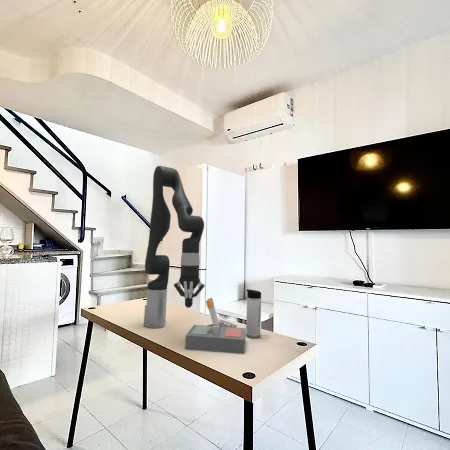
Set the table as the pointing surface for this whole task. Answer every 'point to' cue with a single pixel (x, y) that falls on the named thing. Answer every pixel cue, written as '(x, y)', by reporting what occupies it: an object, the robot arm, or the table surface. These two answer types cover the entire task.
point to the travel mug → (253, 314)
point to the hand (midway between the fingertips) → (188, 307)
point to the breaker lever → (212, 312)
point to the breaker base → (216, 338)
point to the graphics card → (225, 324)
